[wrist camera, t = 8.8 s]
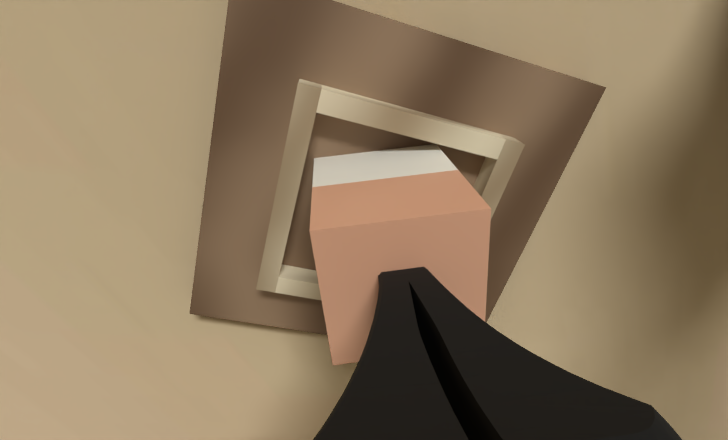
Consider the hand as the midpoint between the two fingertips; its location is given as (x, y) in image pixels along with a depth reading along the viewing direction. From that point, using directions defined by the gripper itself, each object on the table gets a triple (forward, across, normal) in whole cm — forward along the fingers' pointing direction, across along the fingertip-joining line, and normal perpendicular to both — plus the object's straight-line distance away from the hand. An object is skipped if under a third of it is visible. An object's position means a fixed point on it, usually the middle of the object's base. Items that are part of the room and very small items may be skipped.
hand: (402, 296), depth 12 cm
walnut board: (+7, 0, 0) cm, 7 cm away
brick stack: (+6, 0, 0) cm, 6 cm away
